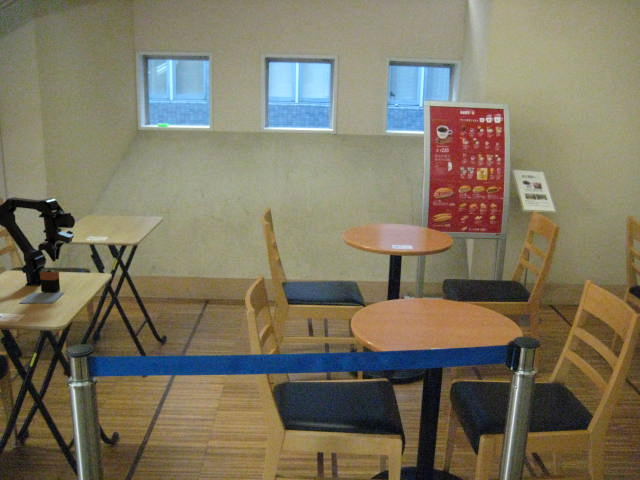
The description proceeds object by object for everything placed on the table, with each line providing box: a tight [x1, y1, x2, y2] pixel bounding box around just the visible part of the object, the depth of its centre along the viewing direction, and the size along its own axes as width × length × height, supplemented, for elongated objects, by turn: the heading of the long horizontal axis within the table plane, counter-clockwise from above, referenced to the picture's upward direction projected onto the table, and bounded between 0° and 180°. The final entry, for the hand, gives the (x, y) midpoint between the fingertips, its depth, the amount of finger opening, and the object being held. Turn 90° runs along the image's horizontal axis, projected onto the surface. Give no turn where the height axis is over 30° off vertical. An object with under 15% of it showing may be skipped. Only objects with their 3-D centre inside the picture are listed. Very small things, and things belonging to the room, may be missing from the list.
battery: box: [40, 268, 61, 293], centre depth 258 cm, size 4×7×10 cm, turn 76°
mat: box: [19, 292, 65, 305], centre depth 250 cm, size 14×12×1 cm
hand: (55, 260), depth 264 cm, fingers open, 3 cm apart
